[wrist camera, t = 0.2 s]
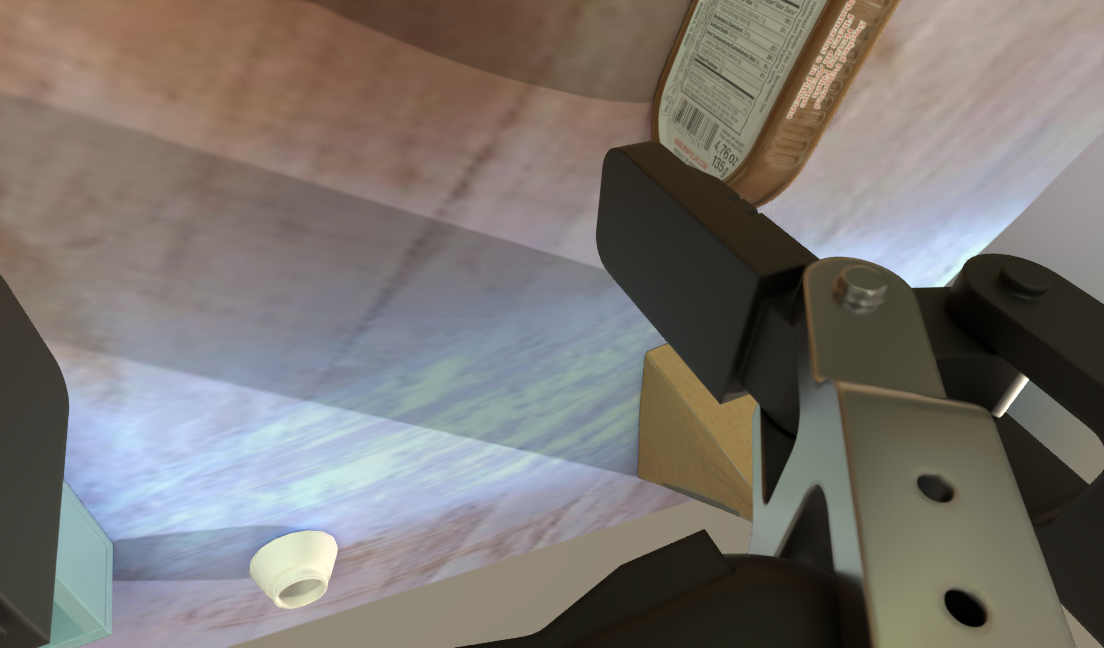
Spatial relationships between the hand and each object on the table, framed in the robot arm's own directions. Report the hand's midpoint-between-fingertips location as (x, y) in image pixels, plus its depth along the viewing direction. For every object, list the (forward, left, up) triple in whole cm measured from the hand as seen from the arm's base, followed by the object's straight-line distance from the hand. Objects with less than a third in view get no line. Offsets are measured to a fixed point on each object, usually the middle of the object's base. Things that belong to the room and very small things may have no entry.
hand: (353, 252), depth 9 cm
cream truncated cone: (+33, -5, -18) cm, 38 cm away
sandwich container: (+32, +24, -18) cm, 44 cm away
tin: (+3, +19, -18) cm, 26 cm away
